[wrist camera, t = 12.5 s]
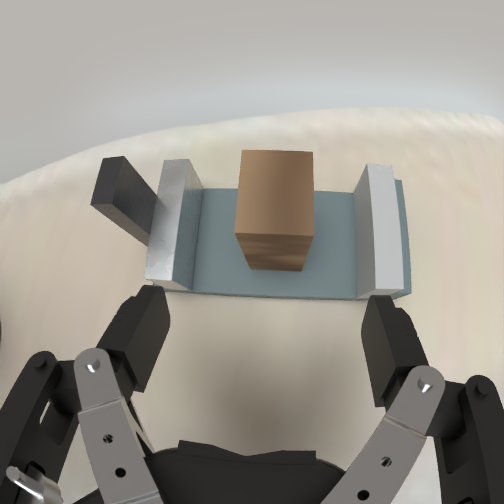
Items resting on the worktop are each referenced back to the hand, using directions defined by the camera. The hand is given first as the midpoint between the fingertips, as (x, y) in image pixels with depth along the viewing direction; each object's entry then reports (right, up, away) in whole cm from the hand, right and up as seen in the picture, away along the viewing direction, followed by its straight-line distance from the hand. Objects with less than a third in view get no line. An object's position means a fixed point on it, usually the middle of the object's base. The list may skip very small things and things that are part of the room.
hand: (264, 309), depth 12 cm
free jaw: (-7, +3, +14) cm, 16 cm away
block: (+2, +3, +13) cm, 14 cm away
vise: (+2, +3, +15) cm, 15 cm away
